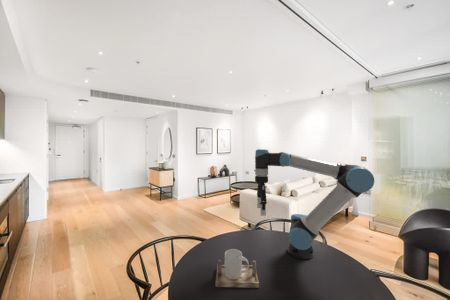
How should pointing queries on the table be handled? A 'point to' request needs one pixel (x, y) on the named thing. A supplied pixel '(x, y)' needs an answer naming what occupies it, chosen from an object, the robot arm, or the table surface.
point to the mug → (234, 264)
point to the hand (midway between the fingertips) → (261, 211)
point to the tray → (245, 280)
